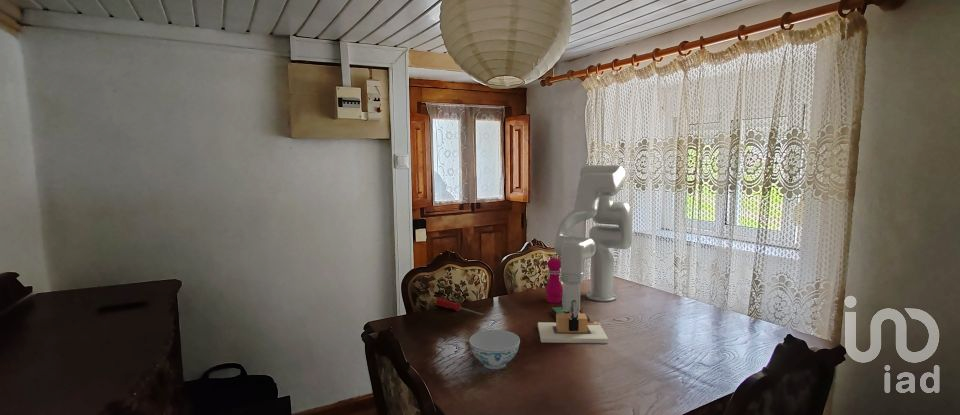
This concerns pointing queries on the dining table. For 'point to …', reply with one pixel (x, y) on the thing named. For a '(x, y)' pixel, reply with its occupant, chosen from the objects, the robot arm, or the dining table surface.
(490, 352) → the chinaware
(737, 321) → the dining table surface
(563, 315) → the plug housing
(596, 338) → the board
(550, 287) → the pepper mill
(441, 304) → the screwdriver
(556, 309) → the disk drive
